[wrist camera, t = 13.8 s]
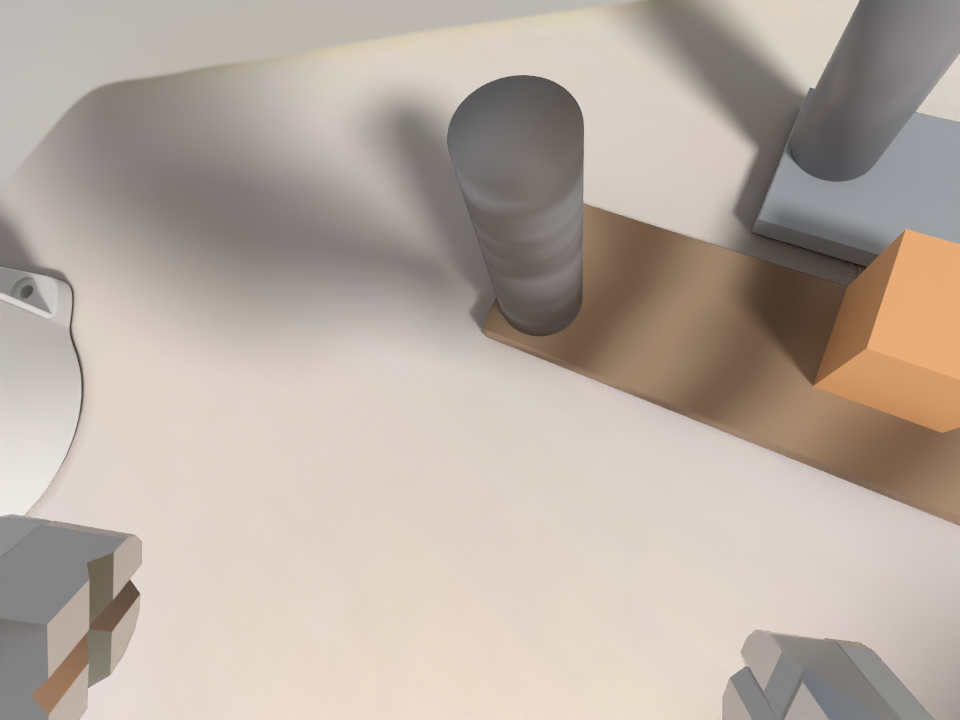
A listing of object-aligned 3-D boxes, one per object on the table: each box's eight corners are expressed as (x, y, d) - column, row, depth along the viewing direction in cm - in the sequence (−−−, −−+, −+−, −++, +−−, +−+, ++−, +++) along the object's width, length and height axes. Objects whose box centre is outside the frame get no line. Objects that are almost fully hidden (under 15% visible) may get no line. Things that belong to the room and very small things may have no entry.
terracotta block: (812, 386, 25) (866, 348, 20) (847, 286, 26) (905, 228, 21) (942, 433, 24) (1031, 404, 19) (972, 326, 25) (1064, 273, 20)
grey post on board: (485, 336, 29) (416, 181, 17) (549, 205, 31) (529, -22, 19) (973, 531, 24) (1412, 509, 11) (1019, 356, 25) (1444, 168, 13)
